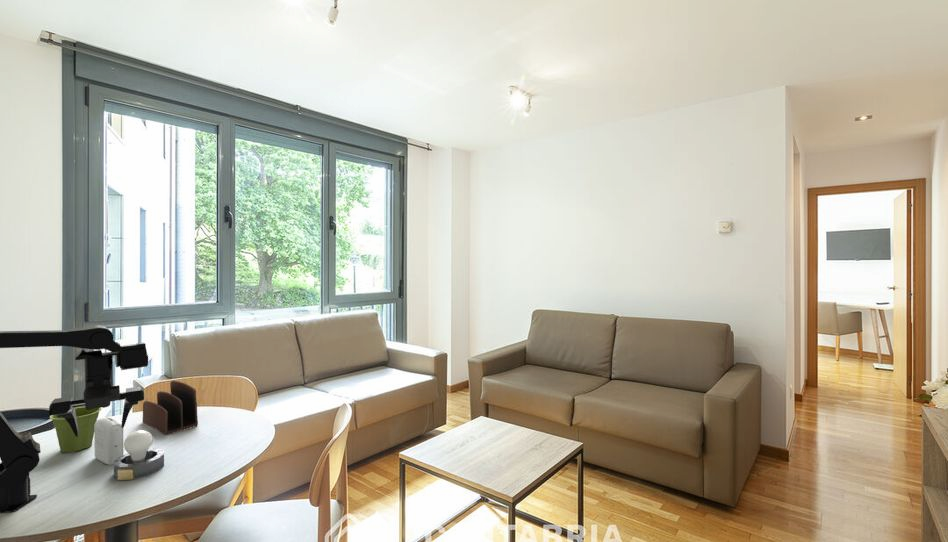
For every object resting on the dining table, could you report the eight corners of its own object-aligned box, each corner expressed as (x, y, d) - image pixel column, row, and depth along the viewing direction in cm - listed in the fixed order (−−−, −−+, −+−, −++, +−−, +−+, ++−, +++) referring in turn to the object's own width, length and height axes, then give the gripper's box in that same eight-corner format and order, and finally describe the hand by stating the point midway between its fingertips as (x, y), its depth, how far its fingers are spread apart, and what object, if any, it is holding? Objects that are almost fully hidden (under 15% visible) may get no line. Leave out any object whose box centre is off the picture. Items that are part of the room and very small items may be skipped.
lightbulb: (127, 466, 123) (127, 428, 122) (155, 462, 125) (155, 425, 125) (120, 477, 117) (120, 437, 117) (149, 472, 120) (149, 433, 119)
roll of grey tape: (148, 479, 116) (147, 466, 116) (102, 482, 114) (101, 469, 114) (171, 459, 128) (171, 447, 128) (130, 461, 126) (129, 449, 126)
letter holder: (173, 414, 164) (173, 377, 164) (198, 426, 153) (197, 386, 153) (142, 422, 156) (141, 384, 156) (165, 435, 145) (165, 393, 145)
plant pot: (105, 447, 135) (104, 411, 135) (52, 460, 127) (51, 422, 126) (98, 436, 143) (98, 403, 143) (48, 448, 134) (47, 412, 134)
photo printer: (126, 460, 127) (125, 418, 126) (108, 466, 123) (107, 423, 123) (110, 452, 132) (109, 412, 131) (92, 458, 128) (91, 416, 128)
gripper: (44, 387, 103) (46, 452, 103) (143, 374, 114) (145, 432, 115) (51, 377, 111) (53, 437, 112) (143, 365, 123) (144, 420, 123)
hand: (100, 431), depth 115 cm, fingers open, 9 cm apart
